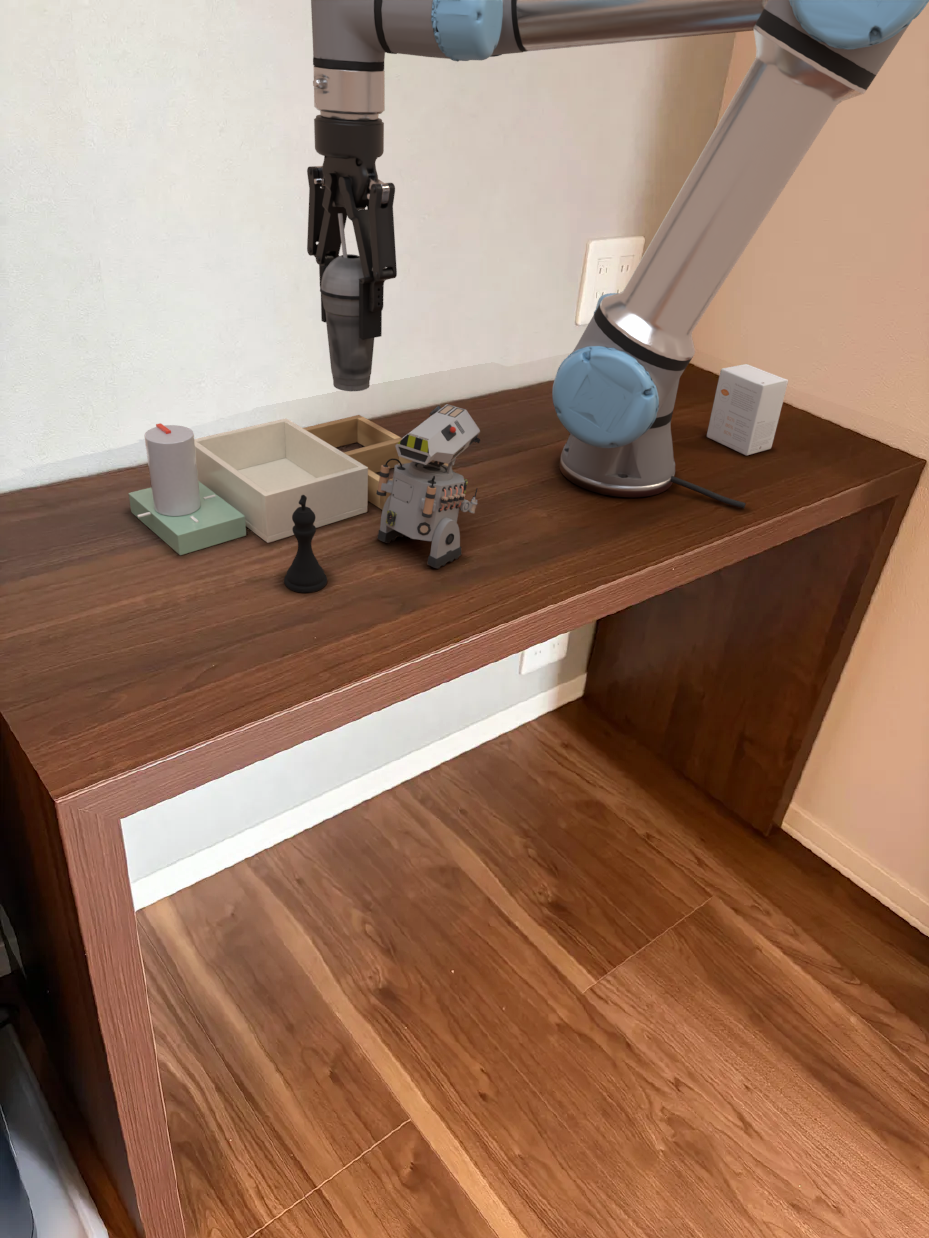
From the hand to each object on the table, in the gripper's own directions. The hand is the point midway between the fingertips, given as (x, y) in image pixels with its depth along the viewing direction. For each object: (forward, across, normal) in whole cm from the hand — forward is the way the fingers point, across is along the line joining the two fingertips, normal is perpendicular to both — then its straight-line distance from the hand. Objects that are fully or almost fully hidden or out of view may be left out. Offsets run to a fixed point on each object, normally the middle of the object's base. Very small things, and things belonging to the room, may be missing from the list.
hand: (350, 328), depth 112 cm
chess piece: (+18, +22, -22) cm, 36 cm away
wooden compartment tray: (+17, +4, 0) cm, 18 cm away
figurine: (+18, +23, -6) cm, 30 cm away
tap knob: (+15, +4, -27) cm, 31 cm away
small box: (+18, +25, +52) cm, 60 cm away
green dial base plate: (+17, +4, -26) cm, 31 cm away
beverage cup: (+7, 0, 0) cm, 7 cm away
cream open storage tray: (+17, +4, -14) cm, 23 cm away
